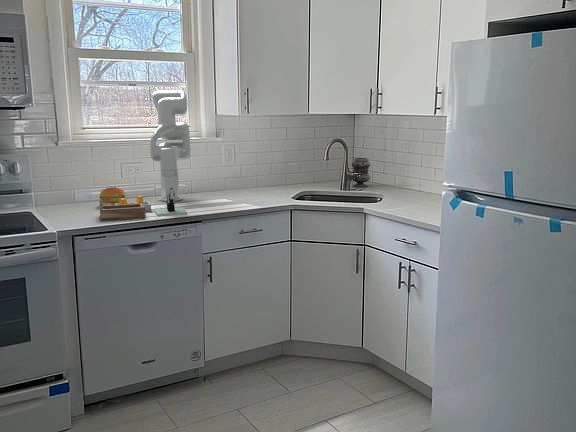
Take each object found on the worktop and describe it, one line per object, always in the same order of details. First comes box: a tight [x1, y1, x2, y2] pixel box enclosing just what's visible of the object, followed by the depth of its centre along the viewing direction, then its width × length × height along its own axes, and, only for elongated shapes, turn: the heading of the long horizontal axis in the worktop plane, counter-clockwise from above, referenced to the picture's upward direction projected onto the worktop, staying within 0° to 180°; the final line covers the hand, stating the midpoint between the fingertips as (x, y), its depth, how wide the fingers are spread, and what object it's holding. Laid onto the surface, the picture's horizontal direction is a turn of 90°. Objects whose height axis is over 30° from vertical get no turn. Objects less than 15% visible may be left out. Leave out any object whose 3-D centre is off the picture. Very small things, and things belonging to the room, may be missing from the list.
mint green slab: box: [154, 201, 188, 217], centre depth 277 cm, size 12×14×6 cm
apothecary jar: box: [351, 157, 371, 188], centre depth 359 cm, size 12×12×18 cm
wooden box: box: [99, 199, 146, 222], centre depth 268 cm, size 12×20×8 cm, turn 109°
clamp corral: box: [115, 201, 152, 213], centre depth 283 cm, size 9×17×4 cm, turn 109°
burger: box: [99, 186, 127, 205], centre depth 294 cm, size 13×14×10 cm
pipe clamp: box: [120, 195, 144, 205], centre depth 283 cm, size 12×4×6 cm, turn 141°
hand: (170, 210), depth 278 cm, fingers closed on mint green slab, 3 cm apart
